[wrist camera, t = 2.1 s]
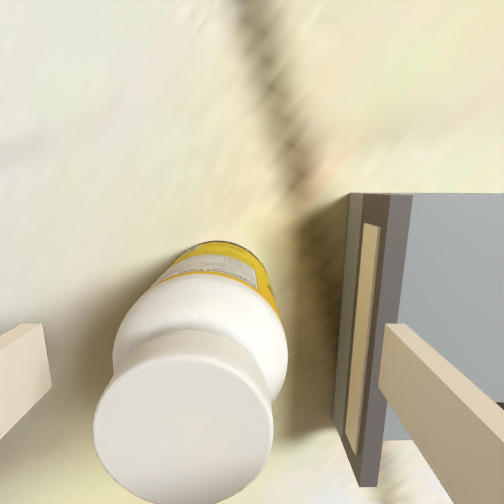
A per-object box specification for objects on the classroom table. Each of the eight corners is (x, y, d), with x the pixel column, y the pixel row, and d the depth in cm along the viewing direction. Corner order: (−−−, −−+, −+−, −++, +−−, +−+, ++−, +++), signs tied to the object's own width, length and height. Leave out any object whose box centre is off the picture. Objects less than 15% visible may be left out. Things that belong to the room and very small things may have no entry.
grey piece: (330, 417, 21) (356, 487, 16) (347, 192, 18) (387, 195, 13) (494, 415, 22) (567, 481, 17) (542, 193, 18) (653, 196, 13)
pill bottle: (232, 350, 20) (218, 570, 8) (149, 299, 19) (7, 470, 7) (289, 274, 19) (360, 409, 7) (204, 216, 18) (137, 270, 6)
